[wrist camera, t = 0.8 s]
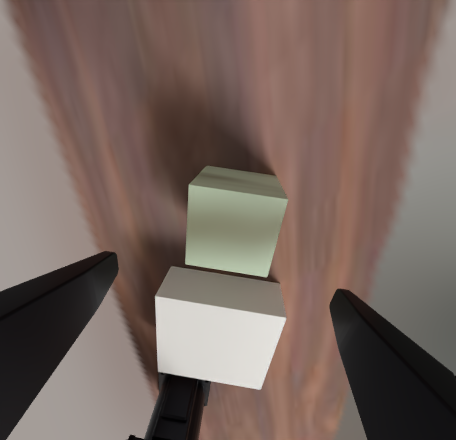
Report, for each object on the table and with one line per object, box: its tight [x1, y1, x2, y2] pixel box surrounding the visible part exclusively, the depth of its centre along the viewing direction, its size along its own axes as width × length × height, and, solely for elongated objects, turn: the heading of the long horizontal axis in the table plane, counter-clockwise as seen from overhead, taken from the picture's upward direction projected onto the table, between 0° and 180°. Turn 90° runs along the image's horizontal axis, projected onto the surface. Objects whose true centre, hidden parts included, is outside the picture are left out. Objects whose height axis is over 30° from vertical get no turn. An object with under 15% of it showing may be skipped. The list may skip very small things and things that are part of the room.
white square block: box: [155, 266, 286, 390], centre depth 20 cm, size 10×10×4 cm
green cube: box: [185, 166, 288, 277], centre depth 14 cm, size 5×5×5 cm
